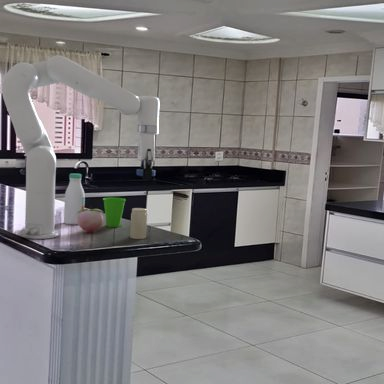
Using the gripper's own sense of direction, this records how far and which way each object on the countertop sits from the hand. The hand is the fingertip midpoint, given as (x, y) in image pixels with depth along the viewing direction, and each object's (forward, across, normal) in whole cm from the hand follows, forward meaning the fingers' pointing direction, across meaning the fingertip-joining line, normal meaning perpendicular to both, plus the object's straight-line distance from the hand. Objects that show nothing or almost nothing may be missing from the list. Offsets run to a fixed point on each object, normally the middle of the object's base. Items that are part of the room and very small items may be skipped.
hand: (145, 178), depth 210 cm
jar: (+22, +3, -2) cm, 22 cm away
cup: (+22, -20, -9) cm, 31 cm away
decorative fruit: (+22, -6, -19) cm, 30 cm away
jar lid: (-3, 0, 0) cm, 3 cm away
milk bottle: (+22, -26, -24) cm, 42 cm away
